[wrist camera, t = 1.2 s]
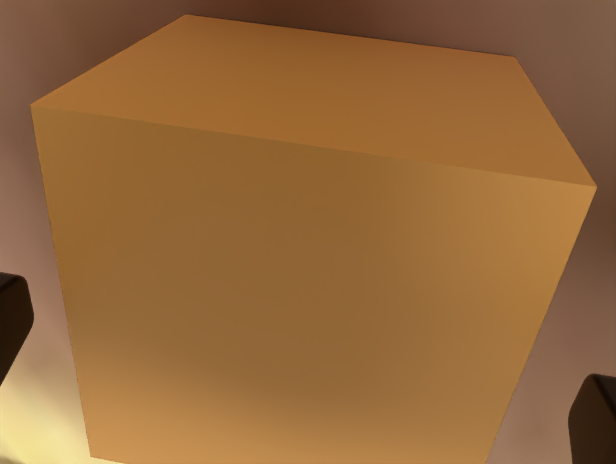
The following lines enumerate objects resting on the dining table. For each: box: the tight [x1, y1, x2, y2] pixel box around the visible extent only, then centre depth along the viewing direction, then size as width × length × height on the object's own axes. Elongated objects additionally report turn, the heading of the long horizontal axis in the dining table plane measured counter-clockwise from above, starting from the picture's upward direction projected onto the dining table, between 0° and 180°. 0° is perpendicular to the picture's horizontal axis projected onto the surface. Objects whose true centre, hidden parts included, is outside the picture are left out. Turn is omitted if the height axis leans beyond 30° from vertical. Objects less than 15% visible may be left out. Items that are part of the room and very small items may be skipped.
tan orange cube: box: [30, 14, 597, 464], centre depth 11 cm, size 7×7×6 cm
